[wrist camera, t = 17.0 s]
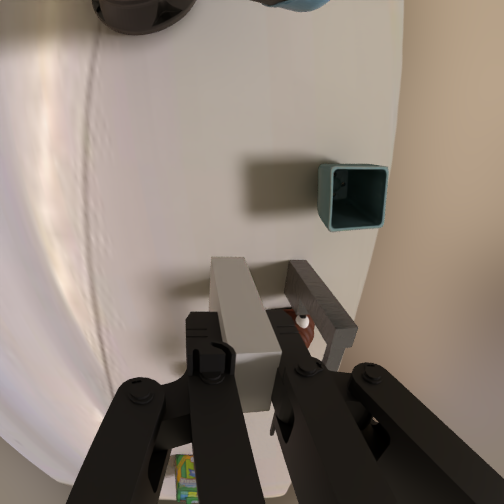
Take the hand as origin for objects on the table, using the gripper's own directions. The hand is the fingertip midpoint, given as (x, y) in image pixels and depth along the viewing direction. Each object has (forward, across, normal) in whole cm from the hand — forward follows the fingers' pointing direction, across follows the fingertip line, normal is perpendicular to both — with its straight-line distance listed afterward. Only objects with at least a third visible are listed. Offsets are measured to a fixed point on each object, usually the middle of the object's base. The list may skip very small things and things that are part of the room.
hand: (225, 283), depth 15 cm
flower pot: (+33, +20, 0) cm, 38 cm away
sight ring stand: (+32, +16, -21) cm, 42 cm away
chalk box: (+33, -2, -74) cm, 81 cm away
